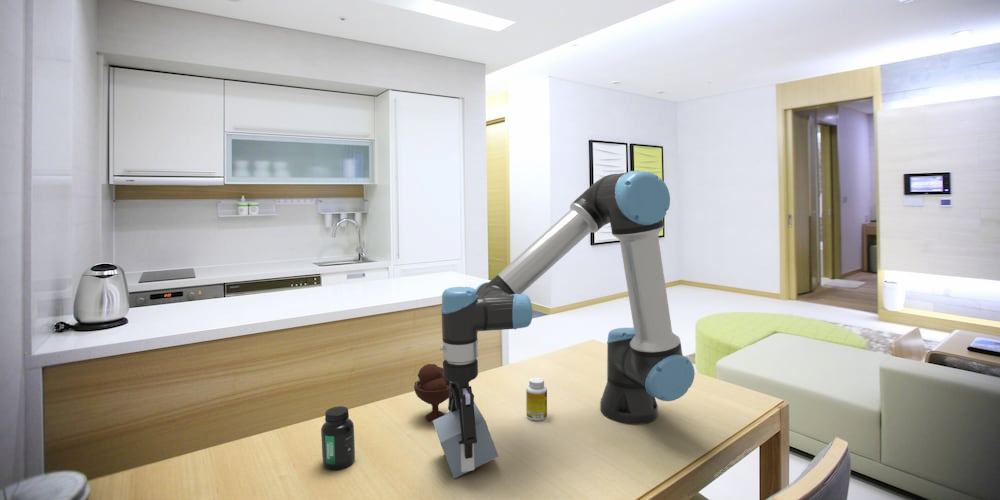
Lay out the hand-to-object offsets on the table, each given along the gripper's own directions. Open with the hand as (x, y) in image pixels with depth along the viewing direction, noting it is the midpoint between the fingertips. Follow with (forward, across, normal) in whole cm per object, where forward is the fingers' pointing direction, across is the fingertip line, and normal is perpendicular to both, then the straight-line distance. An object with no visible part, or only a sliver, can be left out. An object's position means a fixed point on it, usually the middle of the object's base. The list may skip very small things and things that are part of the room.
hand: (462, 456), depth 103 cm
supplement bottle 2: (+2, -16, +24) cm, 29 cm away
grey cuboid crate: (0, 0, +2) cm, 2 cm away
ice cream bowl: (+2, -24, -2) cm, 24 cm away
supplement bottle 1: (+2, -9, -26) cm, 28 cm away
